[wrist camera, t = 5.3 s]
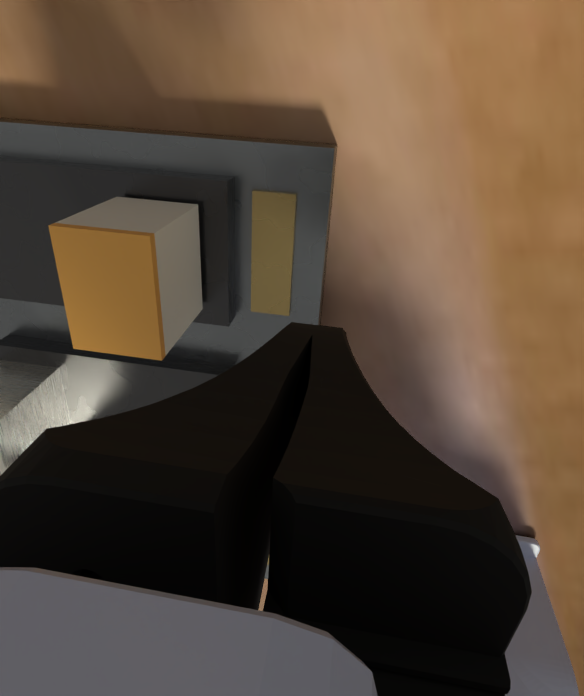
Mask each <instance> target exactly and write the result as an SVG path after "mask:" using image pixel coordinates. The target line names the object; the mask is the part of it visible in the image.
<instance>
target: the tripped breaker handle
mask: <svg viewBox="0 0 584 696" xmlns="http://www.w3.org/2000/svg"><path fill="white" fill-rule="evenodd" d="M48 227H49V232H50V237H51V241H52V246H53V251H54V256H55V261H56V266H57V271H58V276H59V281H60V286H61V291H62V296H63V300H64V305H65V310H66V315H67V320H68V325H69V330H70V335H71V340H72V345H73V349H79V350H87V351H94V352H101V353H109V354H116V355H124V356H131V357H138V358H146V359H153V360H160V361H162V360H163V359H164V357H165V356H166V355H167V354H168V352H169V351H170V350H171V348H172V347H173V346H174V345H175V343H176V342H177V341H178V340H179V338H180V337H181V336H182V334H183V333H184V332H185V331H186V329H187V328H188V327H189V326H190V324H191V323H192V322H193V320H194V319H195V318H196V317H197V315H198V314H199V313H200V312H201V310H202V309H203V305H202V282H201V259H200V236H199V213H198V204H189V203H178V202H168V201H157V200H147V199H137V198H126V197H115V198H112V199H110V200H107V201H105V202H103V203H100V204H98V205H96V206H93V207H91V208H89V209H86V210H84V211H81V212H79V213H77V214H74V215H72V216H70V217H67V218H65V219H63V220H60V221H58V222H55V223H53V224H51V225H48Z"/></svg>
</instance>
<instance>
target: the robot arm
mask: <svg viewBox="0 0 584 696" xmlns="http://www.w3.org/2000/svg"><path fill="white" fill-rule="evenodd" d="M539 551H540V546H539V543H538V541H537V540H536V539H534V538H530V537H524V536H518V535H515V533H514V531H513V529H512V526H511V524H510V522H509V520H508V518H507V516H506V514H505V512H504V510H503V507H502V505H501V503H500V501H499V499H498V498H497V497H495V496H493V495H492V494H490V493H489V492H487V491H486V490H484V489H482V488H481V487H479V486H478V485H476V484H475V483H473V482H471V481H470V480H468V479H467V478H465V477H464V476H462V475H460V474H459V473H457V472H456V471H454V470H453V469H451V468H450V467H449V466H447V465H446V464H445V463H443V462H442V461H441V460H440V459H438V458H437V457H436V456H434V455H433V454H432V453H430V452H429V451H428V450H427V449H426V448H424V447H423V446H422V445H421V444H420V443H419V442H417V441H416V440H415V439H414V438H413V437H412V436H411V435H410V434H409V433H408V432H407V431H406V430H405V429H404V428H403V427H402V426H401V425H399V423H398V422H397V421H396V420H395V419H394V418H393V417H392V416H391V415H390V413H389V412H388V411H387V410H386V409H385V407H384V406H383V405H382V403H381V402H380V401H379V399H378V398H377V396H376V395H375V394H374V392H373V391H372V389H371V387H370V386H369V384H368V383H367V381H366V379H365V378H364V376H363V374H362V372H361V370H360V368H359V366H358V364H357V363H356V361H355V358H354V356H353V354H352V351H351V349H350V346H349V343H348V340H347V336H346V332H345V331H344V330H343V328H337V327H329V326H321V325H312V324H304V323H296V322H291V323H290V324H288V325H287V326H286V327H284V328H283V329H282V330H281V331H280V332H278V333H277V334H276V335H275V336H274V337H273V338H271V339H270V340H269V341H268V342H266V343H265V344H264V345H263V346H261V347H260V348H259V349H257V350H256V351H255V352H254V353H252V354H251V355H250V356H248V357H247V358H245V359H244V360H242V361H241V362H239V363H238V364H236V365H235V366H233V367H232V368H230V369H228V370H227V371H225V372H223V373H222V374H220V375H218V376H216V377H214V378H212V379H210V380H208V381H206V382H204V383H202V384H200V385H198V386H196V387H194V388H192V389H189V390H187V391H184V392H182V393H179V394H177V395H174V396H172V397H169V398H166V399H164V400H161V401H159V402H156V403H153V404H150V405H147V406H143V407H140V408H137V409H134V410H130V411H126V412H123V413H119V414H116V415H111V416H107V417H103V418H99V419H94V420H89V421H84V422H79V423H74V424H69V425H64V426H59V427H52V428H47V429H46V430H45V431H44V432H42V433H41V434H40V435H39V436H38V437H37V438H36V439H35V440H34V441H33V442H32V444H31V445H30V446H29V447H28V448H27V449H26V450H25V451H24V452H23V453H22V454H21V455H20V456H19V457H18V458H17V459H16V460H15V461H14V462H13V463H12V464H11V465H10V466H9V467H8V468H7V469H6V470H5V471H4V472H3V474H2V475H1V476H0V696H579V692H578V687H577V682H576V678H575V674H574V671H573V668H572V664H571V661H570V658H569V655H568V652H567V650H566V647H565V644H564V641H563V638H562V635H561V632H560V629H559V626H558V623H557V620H556V617H555V614H554V611H553V608H552V605H551V602H550V599H549V596H548V593H547V590H546V587H545V584H544V581H543V578H542V575H541V572H540V569H539V566H538V563H537V560H536V557H537V555H538V553H539ZM268 558H269V571H268V590H267V595H266V599H265V604H264V609H263V611H259V610H258V608H259V603H260V598H261V593H262V588H263V583H264V578H265V573H266V568H267V563H268Z"/></svg>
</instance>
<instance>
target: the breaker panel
mask: <svg viewBox="0 0 584 696" xmlns="http://www.w3.org/2000/svg"><path fill="white" fill-rule="evenodd" d="M336 153H337V144H325V143H312V142H299V141H287V140H274V139H261V138H248V137H236V136H223V135H210V134H197V133H185V132H172V131H159V130H146V129H134V128H121V127H108V126H95V125H83V124H70V123H57V122H44V121H32V120H19V119H6V118H0V476H1V475H2V474H3V472H4V471H5V470H6V469H7V468H8V467H9V466H10V465H11V464H12V463H13V462H14V461H15V460H16V459H17V458H18V457H19V456H20V455H21V454H22V453H23V452H24V451H25V450H26V449H27V448H28V447H29V446H30V445H31V444H32V442H33V441H34V440H35V439H36V438H37V437H38V436H39V435H40V434H41V433H42V432H44V431H45V430H46V429H47V428H52V427H59V426H64V425H69V424H74V423H79V422H84V421H89V420H94V419H99V418H103V417H107V416H111V415H116V414H119V413H123V412H126V411H130V410H134V409H137V408H140V407H143V406H147V405H150V404H153V403H156V402H159V401H161V400H164V399H166V398H169V397H172V396H174V395H177V394H179V393H182V392H184V391H187V390H189V389H192V388H194V387H196V386H198V385H200V384H202V383H204V382H206V381H208V380H210V379H212V378H214V377H216V376H218V375H220V374H222V373H223V372H225V371H227V370H228V369H230V368H232V367H233V366H235V365H236V364H238V363H239V362H241V361H242V360H244V359H245V358H247V357H248V356H250V355H251V354H252V353H254V352H255V351H256V350H257V349H259V348H260V347H261V346H263V345H264V344H265V343H266V342H268V341H269V340H270V339H271V338H273V337H274V336H275V335H276V334H277V333H278V332H280V331H281V330H282V329H283V328H284V327H286V326H287V325H288V324H290V323H291V322H296V323H304V324H312V325H320V320H321V310H322V299H323V289H324V278H325V268H326V257H327V247H328V236H329V226H330V215H331V205H332V194H333V184H334V174H335V163H336ZM115 197H126V198H137V199H147V200H157V201H168V202H178V203H189V204H198V213H199V236H200V259H201V282H202V305H203V309H202V310H201V312H200V313H199V314H198V315H197V317H196V318H195V319H194V320H193V322H192V323H191V324H190V326H189V327H188V328H187V329H186V331H185V332H184V333H183V334H182V336H181V337H180V338H179V340H178V341H177V342H176V343H175V345H174V346H173V347H172V348H171V350H170V351H169V352H168V354H167V355H166V356H165V357H164V359H163V360H162V361H160V360H153V359H146V358H138V357H131V356H124V355H116V354H109V353H101V352H94V351H87V350H79V349H73V345H72V340H71V335H70V330H69V325H68V320H67V315H66V310H65V305H64V300H63V296H62V291H61V286H60V281H59V276H58V271H57V266H56V261H55V256H54V251H53V246H52V241H51V237H50V232H49V227H48V225H51V224H53V223H55V222H58V221H60V220H63V219H65V218H67V217H70V216H72V215H74V214H77V213H79V212H81V211H84V210H86V209H89V208H91V207H93V206H96V205H98V204H100V203H103V202H105V201H107V200H110V199H112V198H115ZM268 571H269V558H268V563H267V568H266V573H265V578H266V579H268Z"/></svg>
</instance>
